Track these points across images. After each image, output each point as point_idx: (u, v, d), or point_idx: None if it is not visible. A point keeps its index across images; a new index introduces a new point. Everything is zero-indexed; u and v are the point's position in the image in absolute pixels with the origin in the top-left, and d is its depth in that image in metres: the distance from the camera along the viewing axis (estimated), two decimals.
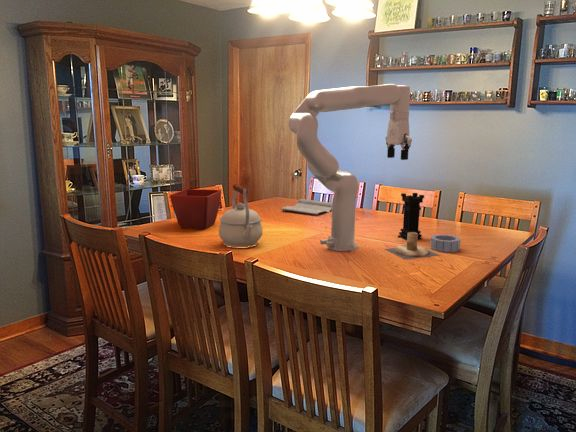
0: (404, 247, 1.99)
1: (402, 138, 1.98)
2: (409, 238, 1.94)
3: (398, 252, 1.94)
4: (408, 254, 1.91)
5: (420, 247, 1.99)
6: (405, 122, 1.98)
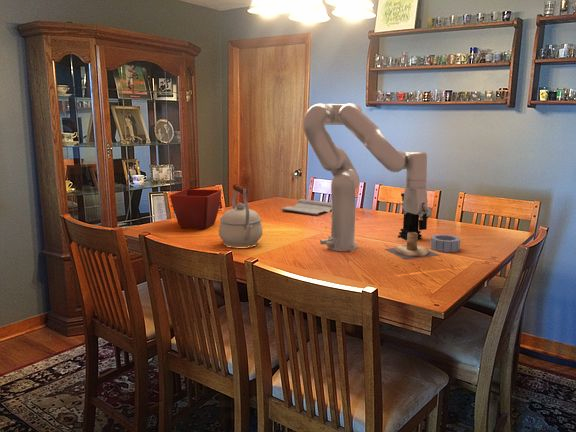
0: (404, 247, 1.99)
1: (420, 208, 1.87)
2: (409, 238, 1.94)
3: (398, 252, 1.94)
4: (408, 254, 1.91)
5: (420, 247, 1.99)
6: (423, 191, 1.87)
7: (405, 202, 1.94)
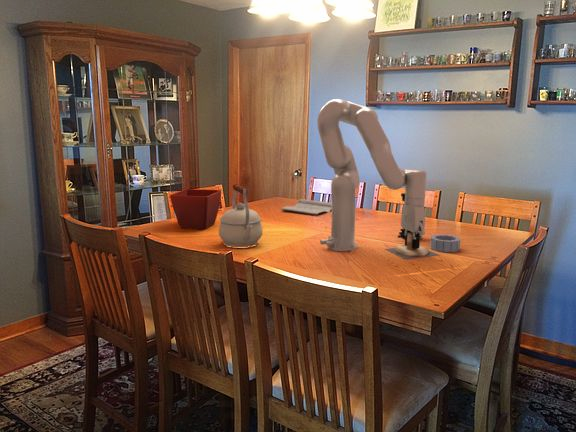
0: (404, 247, 1.99)
1: (417, 226, 1.89)
2: (409, 238, 1.94)
3: (398, 252, 1.94)
4: (408, 254, 1.91)
5: (420, 247, 1.99)
6: (421, 209, 1.89)
7: (403, 219, 1.95)
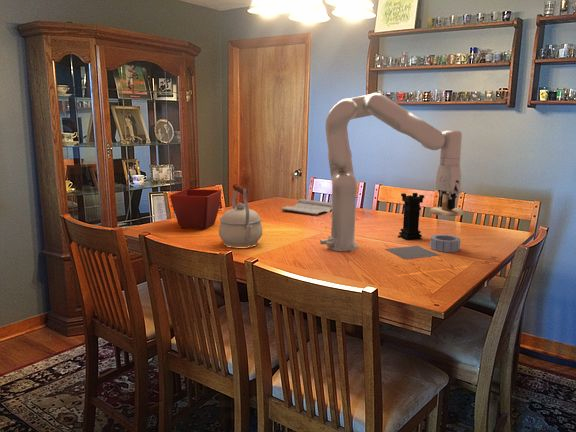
0: (439, 208, 2.01)
1: (453, 185, 1.91)
2: (444, 198, 1.96)
3: (434, 212, 1.96)
4: (444, 214, 1.93)
5: (455, 208, 2.01)
6: (457, 169, 1.91)
7: (438, 180, 1.98)
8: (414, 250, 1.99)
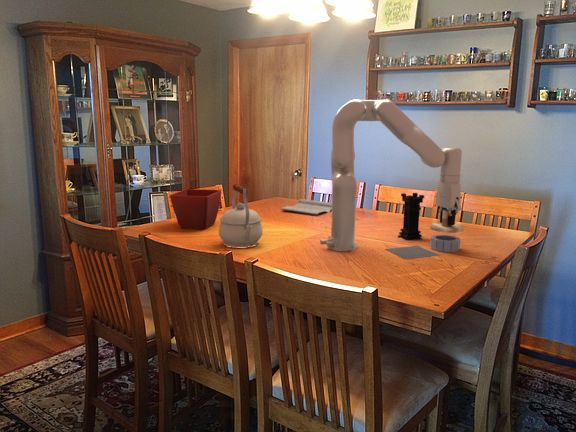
0: (439, 224, 2.03)
1: (454, 202, 1.93)
2: (445, 215, 1.98)
3: (434, 228, 1.97)
4: (444, 230, 1.94)
5: (455, 224, 2.03)
6: (457, 186, 1.92)
7: (438, 196, 1.99)
8: (414, 250, 1.99)
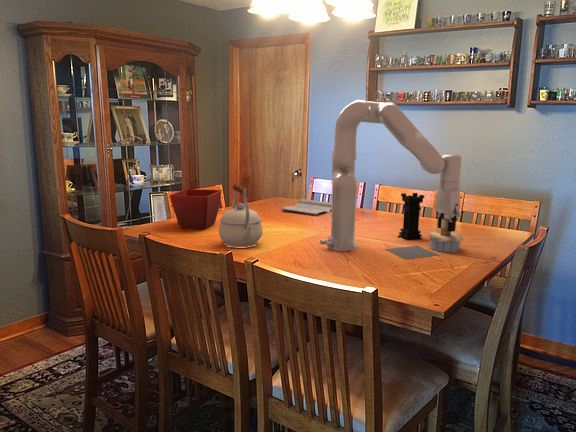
0: (438, 233, 2.03)
1: (453, 209, 1.93)
2: (443, 224, 1.99)
3: (433, 238, 1.98)
4: (443, 239, 1.95)
5: (453, 233, 2.04)
6: (456, 192, 1.93)
7: (437, 203, 2.00)
8: (414, 250, 1.99)
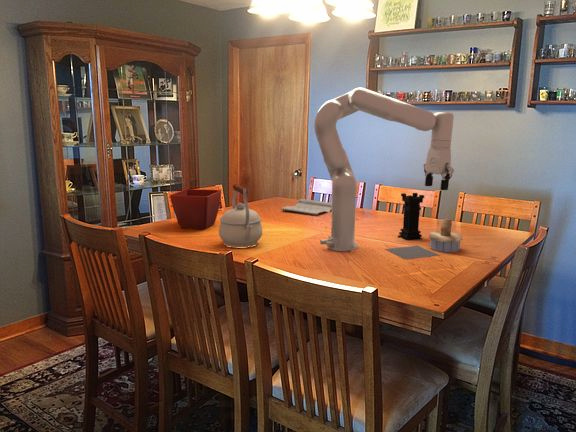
0: (438, 233, 2.03)
1: (443, 168, 1.89)
2: (443, 224, 1.99)
3: (433, 238, 1.98)
4: (443, 239, 1.95)
5: (453, 233, 2.04)
6: (448, 151, 1.89)
7: (428, 162, 1.96)
8: (414, 250, 1.99)
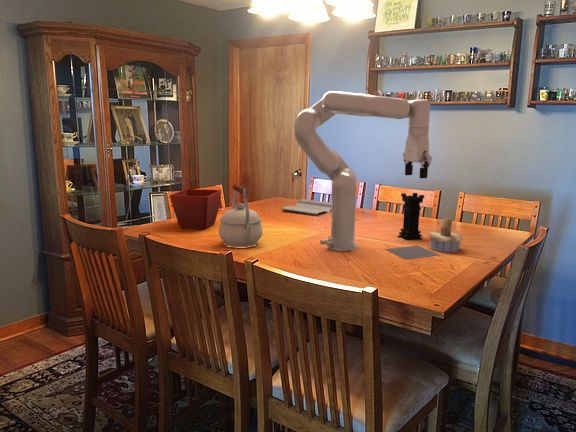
0: (438, 233, 2.03)
1: (421, 155, 1.87)
2: (443, 224, 1.99)
3: (433, 238, 1.98)
4: (443, 239, 1.95)
5: (453, 233, 2.04)
6: (425, 139, 1.87)
7: (406, 151, 1.93)
8: (414, 250, 1.99)
